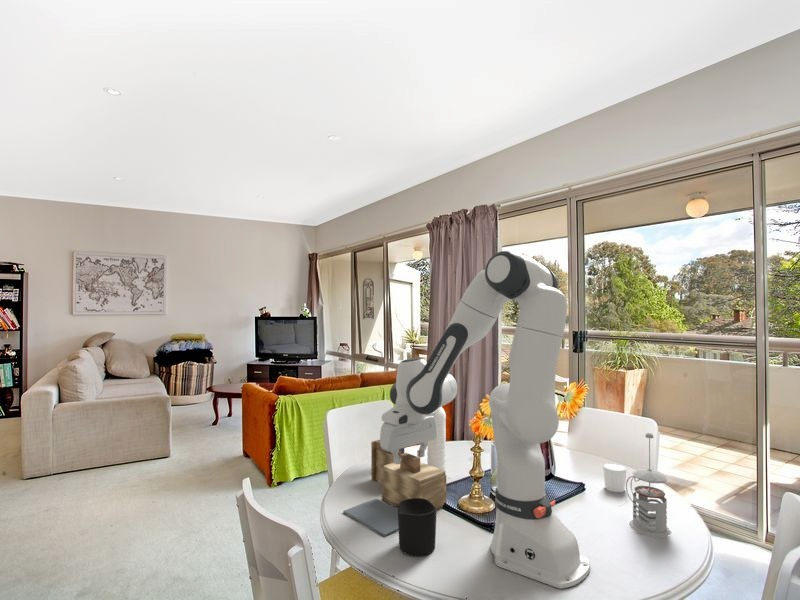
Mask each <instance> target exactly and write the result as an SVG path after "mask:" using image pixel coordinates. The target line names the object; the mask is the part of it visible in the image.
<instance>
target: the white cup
mask: <svg viewBox="0 0 800 600" xmlns="http://www.w3.org/2000/svg"><path fill="white" fill-rule="evenodd" d="M602 469H603V477H604V478H603V479H604V488H605V489H606V490H607V491H609V492H613V493H623V492H625V490H626V481H627V479H626V478H627V467H626V466H625V465H622V464H618V463H614V462H613V463H612V462H611V463H610V462H608V463H604V464H603V465H602Z"/></svg>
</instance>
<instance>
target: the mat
mask: <svg viewBox="0 0 800 600" xmlns="http://www.w3.org/2000/svg"><path fill="white" fill-rule="evenodd" d="M342 513H343V514H345V515H347V516H348V517H350V518H352V519H353V520H355V521H357V522H359V523H360V524H362V525H363V526H366V527H367V528H369V529H370V530H372V531H374V532H376V533H378V534H380V536H382V537H384V538H386V537H388V536H390V535H392V534H394V533H398V532H399V528H398V507H396V506H393V505H391V504H389V503H387V502H385V501H383V500H382V499H381V500H380V499H378V498H374V499H373V498H372V499H371V500H368V501H365V502H363V503H361V504H358V505H355V506H352V507H349V508H347V509H344V510H343V511H342Z"/></svg>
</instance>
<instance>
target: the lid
mask: <svg viewBox="0 0 800 600" xmlns="http://www.w3.org/2000/svg"><path fill="white" fill-rule="evenodd" d="M400 457H401V458H402V460H401V463H400V464H394V463H391V464H388V465H384V466H383V470H384V471H387V472H389V473H392V474H394V475H396V476H399V477H401V478H404V479H406V480H408V481H411V482H413V483H416V484H418V485H422V484H424V483H427V482H429V481H432V480H435V479H437V478H440V477H442V476H445V475H446V471H444V470H441V469H438V468H435V467H432V466H430V465H427V464H428V463H427V464H426V463H424V462H421V458H420V457H418V456H417V455H413V454H410V453H407V452H404V454H400Z"/></svg>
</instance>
